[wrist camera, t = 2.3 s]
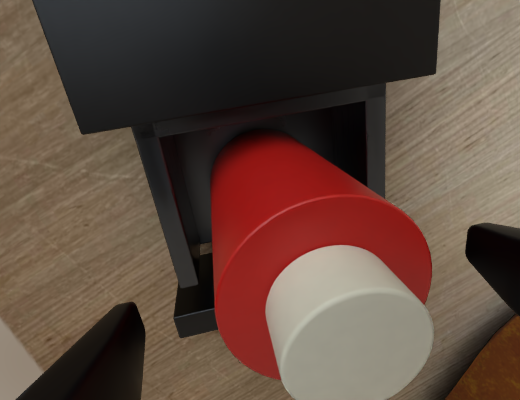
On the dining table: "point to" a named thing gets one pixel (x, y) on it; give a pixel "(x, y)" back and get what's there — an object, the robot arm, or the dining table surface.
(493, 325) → the dining table surface
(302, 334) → the ketchup bottle
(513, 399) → the bread
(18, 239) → the dining table surface
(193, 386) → the dining table surface
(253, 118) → the drawer
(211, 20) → the cabinet
